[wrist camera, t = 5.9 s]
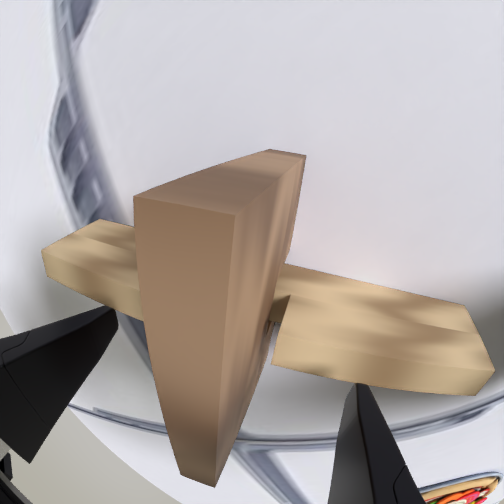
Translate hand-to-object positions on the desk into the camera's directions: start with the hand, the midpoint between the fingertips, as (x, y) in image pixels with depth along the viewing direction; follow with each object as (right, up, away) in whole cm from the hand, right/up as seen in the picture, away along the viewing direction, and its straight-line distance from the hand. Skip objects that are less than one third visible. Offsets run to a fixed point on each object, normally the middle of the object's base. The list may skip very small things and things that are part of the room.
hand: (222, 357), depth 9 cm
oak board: (+2, +2, +5) cm, 6 cm away
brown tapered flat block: (+2, +2, +5) cm, 6 cm away
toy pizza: (+31, -39, +16) cm, 52 cm away
